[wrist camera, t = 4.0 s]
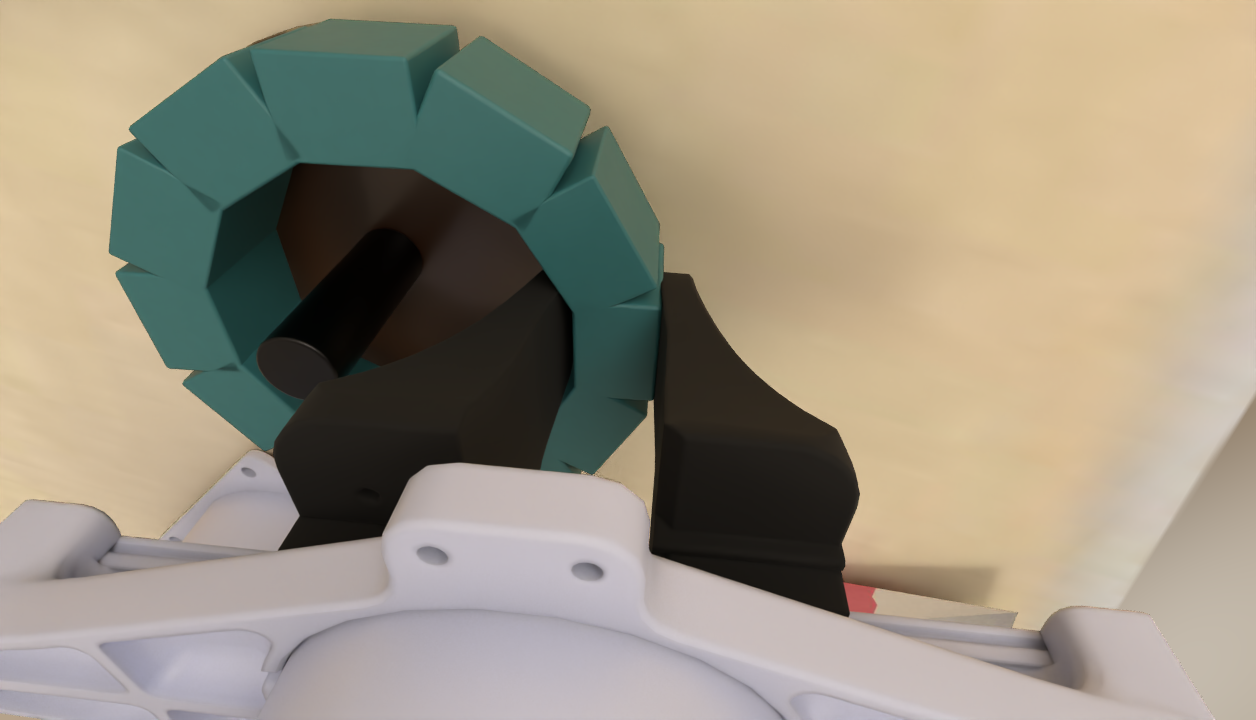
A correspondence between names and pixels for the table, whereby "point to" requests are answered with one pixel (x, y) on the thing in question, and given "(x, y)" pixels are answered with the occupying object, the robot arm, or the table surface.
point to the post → (382, 270)
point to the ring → (383, 138)
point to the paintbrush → (923, 607)
